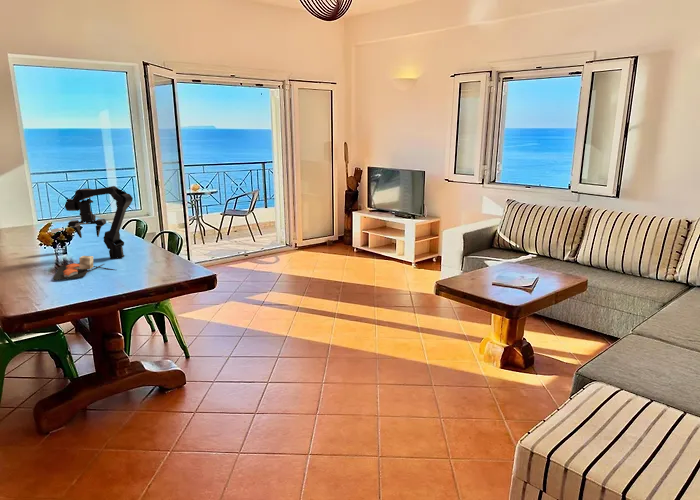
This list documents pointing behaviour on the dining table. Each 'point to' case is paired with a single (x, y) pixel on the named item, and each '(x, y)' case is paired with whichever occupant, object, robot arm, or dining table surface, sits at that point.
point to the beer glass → (57, 230)
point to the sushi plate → (72, 271)
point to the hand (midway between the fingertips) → (89, 237)
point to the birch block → (86, 262)
